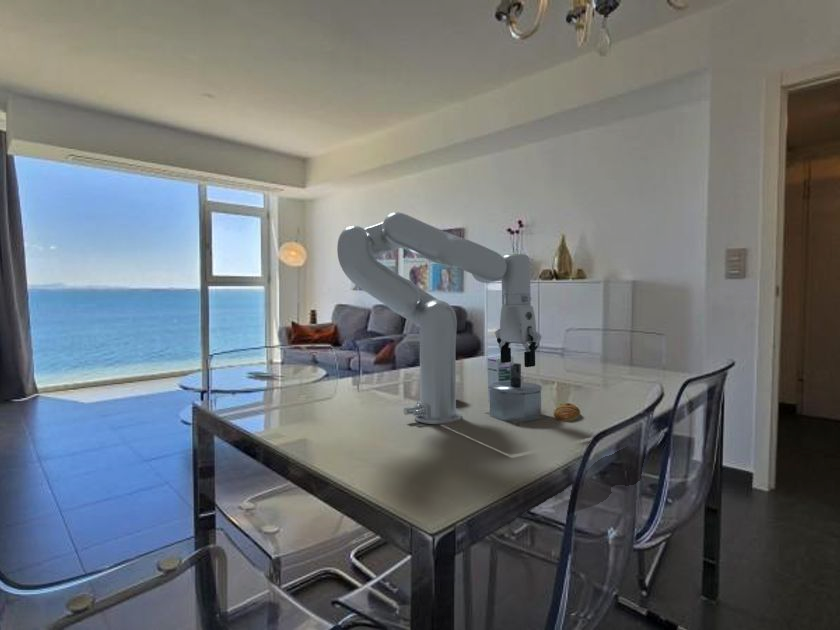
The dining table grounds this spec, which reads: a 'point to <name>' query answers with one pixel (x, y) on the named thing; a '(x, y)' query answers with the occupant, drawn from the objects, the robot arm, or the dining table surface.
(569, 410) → the pastry
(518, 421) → the wooden board
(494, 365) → the syrup box
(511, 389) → the grey round part
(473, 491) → the dining table surface
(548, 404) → the dining table surface
